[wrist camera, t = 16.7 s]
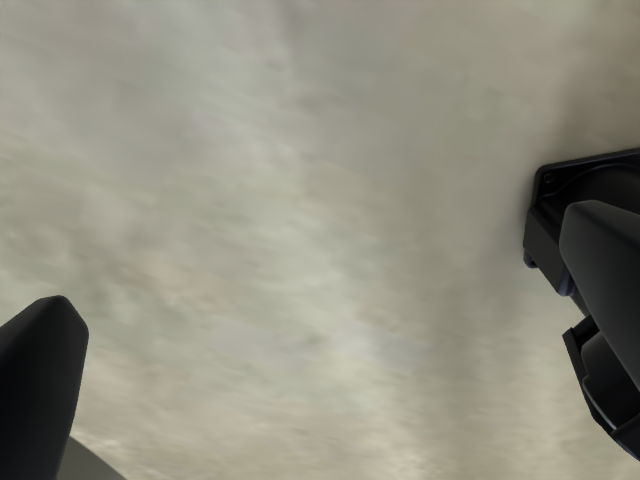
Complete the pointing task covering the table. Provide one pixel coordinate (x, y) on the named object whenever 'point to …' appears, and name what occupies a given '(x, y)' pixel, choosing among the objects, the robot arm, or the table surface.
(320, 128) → the table surface
